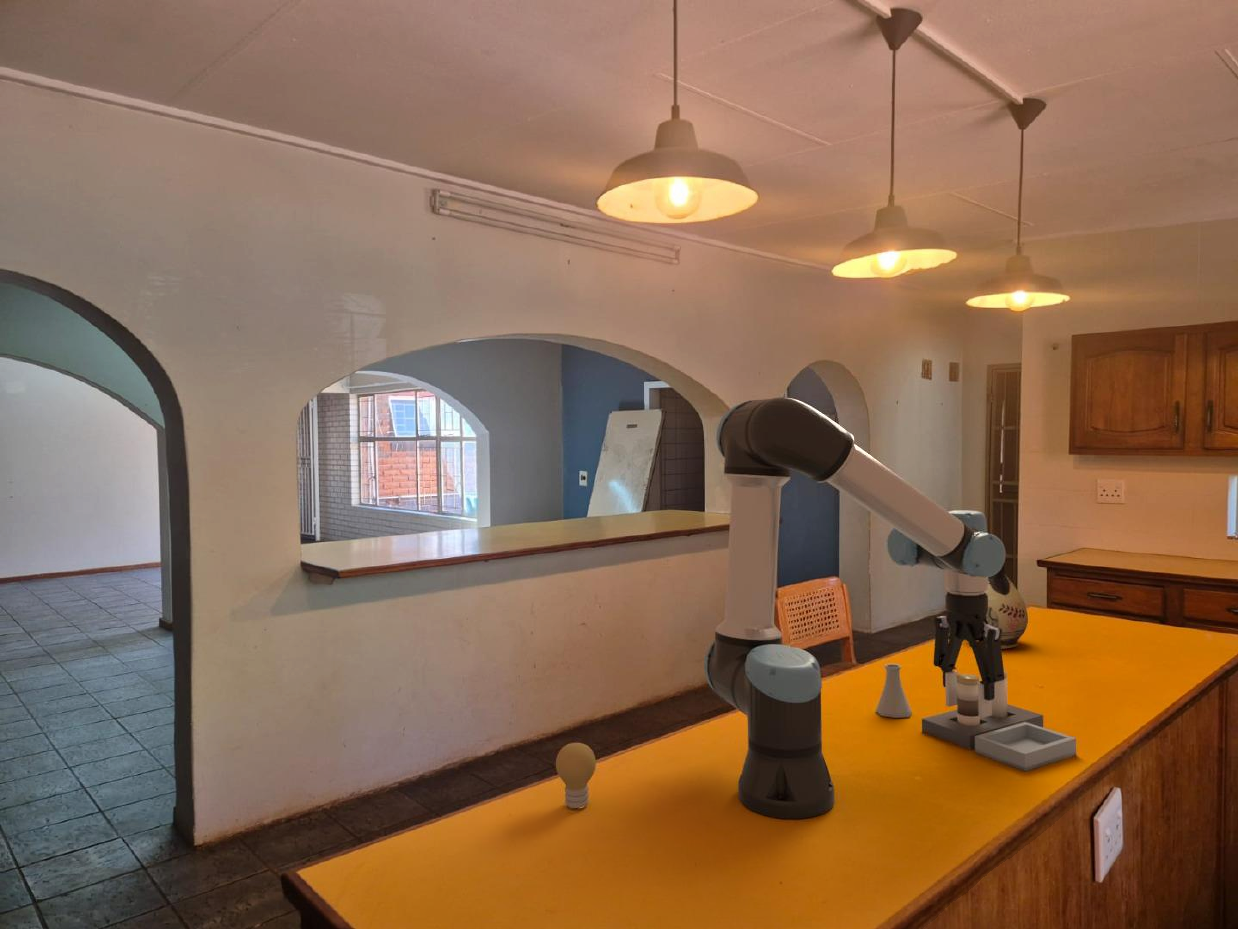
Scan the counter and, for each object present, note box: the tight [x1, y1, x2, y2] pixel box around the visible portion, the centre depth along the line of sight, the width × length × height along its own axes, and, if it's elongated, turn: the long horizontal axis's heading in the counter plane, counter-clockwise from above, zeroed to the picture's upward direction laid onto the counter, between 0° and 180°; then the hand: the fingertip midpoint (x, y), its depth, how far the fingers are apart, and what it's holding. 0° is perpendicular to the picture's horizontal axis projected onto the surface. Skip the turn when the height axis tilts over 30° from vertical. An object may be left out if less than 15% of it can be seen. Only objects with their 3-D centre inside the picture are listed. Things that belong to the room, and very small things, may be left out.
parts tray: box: [974, 722, 1077, 773], centre depth 147 cm, size 14×10×3 cm
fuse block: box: [921, 703, 1044, 750], centre depth 159 cm, size 21×11×2 cm, turn 118°
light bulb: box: [555, 742, 597, 809], centre depth 130 cm, size 6×6×10 cm
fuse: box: [991, 669, 1008, 719], centre depth 161 cm, size 4×4×11 cm
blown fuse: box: [956, 673, 980, 727], centre depth 157 cm, size 4×4×11 cm
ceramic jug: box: [984, 563, 1029, 650], centre depth 221 cm, size 17×15×30 cm
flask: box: [875, 663, 913, 719], centre depth 170 cm, size 7×7×10 cm
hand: (968, 710), depth 157 cm, fingers open, 7 cm apart
